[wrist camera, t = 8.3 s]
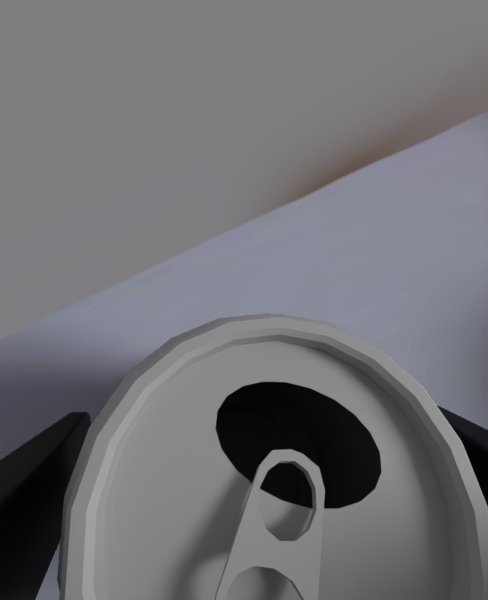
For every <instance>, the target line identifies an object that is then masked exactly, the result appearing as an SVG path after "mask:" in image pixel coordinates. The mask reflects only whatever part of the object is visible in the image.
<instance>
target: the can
mask: <svg viewBox="0 0 488 600" xmlns="http://www.w3.org/2000/svg"><path fill="white" fill-rule="evenodd" d="M57 580H58V585H59V590H60V598H59V599H60V600H488V506H487V504H486V501H485V499H484V496H483V494H482V491H481V489H480V486H479V484H478V481H477V478H476V476H475V473H474V471H473V468H472V466H471V463H470V461H469V458H468V456H467V453H466V451H465V448H464V446H463V443H462V441H461V440H460V438H459V437H458V435H457V434H456V432H455V431H454V430H453V428H452V427H451V425H450V424H449V422H448V421H447V420H446V418H445V417H444V415H443V414H442V412H441V411H440V409H439V408H438V407H437V405H436V404H435V402H434V401H433V399H432V398H431V397H430V395H429V394H428V392H427V391H426V389H425V388H424V387H423V386H422V385H421V384H420V383H419V382H418V381H416V380H415V379H414V378H413V377H412V376H411V375H410V374H408V373H407V372H406V371H405V370H404V369H403V368H402V367H400V366H399V365H398V364H397V363H396V362H395V361H394V360H392V359H391V358H390V357H389V356H388V355H387V354H386V353H385V352H383V351H382V350H381V349H380V348H379V347H377V346H375V345H373V344H371V343H369V342H367V341H365V340H363V339H361V338H359V337H357V336H355V335H353V334H351V333H349V332H347V331H345V330H343V329H341V328H339V327H337V326H335V325H333V324H331V323H325V322H320V321H315V320H310V319H304V318H299V317H294V316H289V315H283V314H258V315H248V316H238V317H229V318H219V319H216V320H214V321H212V322H209V323H207V324H204V325H202V326H200V327H197V328H195V329H192V330H190V331H188V332H185V333H183V334H180V335H178V336H176V337H173V338H171V339H170V340H168V341H167V342H166V343H165V344H163V345H162V346H161V347H160V348H159V349H157V350H156V351H155V352H154V353H152V354H151V355H150V356H149V357H147V358H146V359H145V360H144V361H142V362H141V363H140V364H139V365H138V366H136V367H135V368H134V369H133V370H131V371H130V372H129V373H128V374H126V376H125V377H124V379H123V380H122V382H121V383H120V384H119V386H118V387H117V389H116V390H115V391H114V393H113V394H112V396H111V397H110V399H109V400H108V401H107V403H106V404H105V406H104V407H103V409H102V410H101V411H100V413H99V414H98V416H97V417H96V418H95V420H94V421H93V423H92V424H91V426H90V427H89V429H88V432H87V435H86V438H85V440H84V443H83V446H82V449H81V451H80V454H79V457H78V460H77V462H76V465H75V468H74V471H73V473H72V476H71V479H70V482H69V485H68V487H67V490H66V493H65V496H64V504H63V517H62V529H61V541H60V553H59V565H58V577H57Z"/></svg>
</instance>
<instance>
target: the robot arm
mask: <svg viewBox="0 0 488 600" xmlns="http://www.w3.org/2000/svg"><path fill="white" fill-rule="evenodd" d="M437 407H438V408H439V409H440V411H441V412H442V414H443V415H444V417H445V418H446V420H447V421H448V422H449V424H450V425H451V427H452V428H453V430H454V431H455V432H456V434H457V435H458V437H459V438H460V440H461V441H462V443H463V446H464V448H465V451H466V453H467V456H468V458H469V461H470V463H471V466H472V468H473V471H474V473H475V476H476V478H477V481H478V484H479V486H480V489H481V491H482V494H483V496H484V499H485V501H486V504H487V506H488V430H487V429H485V428H483V427H480V426H478V425H476V424H474V423H472V422H470V421H468V420H466V419H464V418H462V417H460V416H458V415H456V414H454V413H452V412H450V411H448V410H446V409H444V408H442V407H440V406H437ZM90 426H91V421H90V416H89V414H88V413H87V412H72V413H69V414H68V415H66V416H65V417H63V418H62V419H60V420H59V421H57V422H56V423H54V424H53V425H52V426H50V427H49V428H47V429H46V430H44V431H43V432H41V433H40V434H38V435H37V436H35V437H34V438H32V439H31V440H29V441H28V442H27V443H25V444H24V445H22V446H21V447H19V448H18V449H16V450H15V451H13V452H12V453H10V454H9V455H7V456H6V457H4V458H3V459H2V460H0V600H35V599H36V596H37V594H38V591H39V589H40V587H41V584H42V582H43V580H44V577H45V575H46V572H47V570H48V568H49V565H50V563H51V560H52V558H53V556H54V553H55V551H56V548H57V546H58V544H59V541H60V539H61V529H62V517H63V504H64V496H65V493H66V490H67V487H68V485H69V482H70V479H71V476H72V473H73V471H74V468H75V465H76V462H77V460H78V457H79V454H80V451H81V449H82V446H83V443H84V440H85V438H86V435H87V432H88V429H89V427H90Z"/></svg>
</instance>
